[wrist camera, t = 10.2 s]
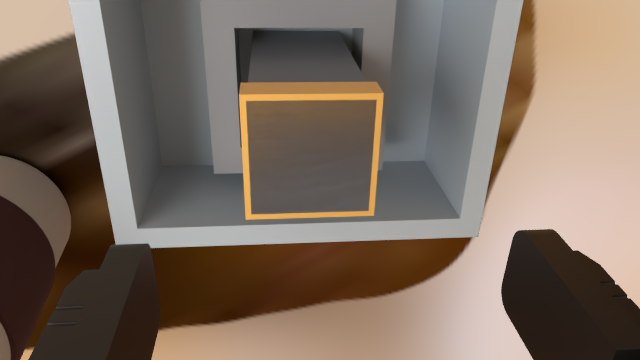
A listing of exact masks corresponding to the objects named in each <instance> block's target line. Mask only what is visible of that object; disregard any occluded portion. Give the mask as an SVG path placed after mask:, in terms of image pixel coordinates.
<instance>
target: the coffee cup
mask: <svg viewBox="0 0 640 360" xmlns="http://www.w3.org/2000/svg"><path fill="white" fill-rule="evenodd" d="M70 231H71V215H70V210H69V207H68V204H67V202H66V200H65V198H64V196H63V194H62V193H61V191H60V190H59V189H58V187H57V186H56V185H55V184H54V183H53V182H52V181H51V180H50V179H49V178H48V177H47V176H46V175H45V174H43V173H42V172H40V171H39V170H37V169H36V168H34V167H32V166H30V165H28V164H26V163H24V162H22V161H19V160H16V159H13V158H10V157H6V156H1V155H0V360H20V359H21V357H22V354H23V352H24V350H25V347H26V345H27V343H28V340H29V338H30V336H31V334H32V331H33V329H34V327H35V324H36V322H37V320H38V318H39V315H40V313H41V311H42V308H43V306H44V304H45V302H46V299H47V297H48V295H49V292H50V290H51V288H52V285H53V282H54V278H55V268H56V266H57V264H58V261H59V259H60V257H61V255H62V253H63V250H64V248H65V246H66V244H67V241H68V239H69V236H70Z"/></svg>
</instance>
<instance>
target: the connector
mask: <svg viewBox="0 0 640 360" xmlns="http://www.w3.org/2000/svg"><path fill="white" fill-rule="evenodd" d="M383 97H384V93H383V91H382V90H381V88H380V86H379V85H378V83H377V82H367V81H366V79H365V78H364V76H363V74H362V72H361V71H360V69H359V67H358V65H357V64H356V62H355V60H354V58H353V57H352V55H351V53H350V51H349V49H348V48H347V46H346V44H345V42H344V41H343V39H342V37H341V35H340V34H339V32H338V31H253V38H252V47H251V57H250V67H249V77H248V83H241V84H240V91H239V105H240V123H241V142H242V161H243V179H244V198H245V217H246V220H253V219H285V218H318V217H351V216H374V210H375V197H376V185H377V172H378V160H379V147H380V135H381V122H382V110H383Z"/></svg>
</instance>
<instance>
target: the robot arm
mask: <svg viewBox="0 0 640 360" xmlns="http://www.w3.org/2000/svg"><path fill="white" fill-rule="evenodd" d="M501 290H502V291H501V293H502V301H503V305H504V308H505V311H506V313H507V315H508V316H509V318H510V320H511V322H512V323H513V325H514V327H515V329H516V330H517V332H518V334H519V335H520V337H521V339H522V341H523V342H524V344H525V346H526V348H527V349H528V351H529V353H530V354H531V356H532V358H533V359H534V360H640V309H639V307H638V306H637V305H636V304H635V303H634V302H633V301H632V300H631V299H628V298H627V294H626V293H625V292H624V291H623V290H622V289H621V288H620V286H618V285H615V281H614V280H613V279H612V278H611V277H610V275H608V273H607V272H606V271H605V270H604V269H603V268H602V267H601V265H600V264H598V263H596V262H595V261H593V260H592V259H590V258H589V257H587V256H585V255H584V254H582V253H581V252H579V251H573V250H572V249H571V248H570V247H569V246H568V245H567V243H565V241H564V240H563V239H562V238H561V237H560V235H559V234H558V233H557V232H556V231H554V230H550V229H547V230H521V231H517V232H516V233H515V235H514V237H513V240H512V244H511V248H510V253H509V257H508V261H507V265H506V270H505V273H504V278H503V282H502V289H501ZM55 307H56V309H55V310H53V312H52V314H51V316H50V318H49V320H48V322H47V327H45V328H44V330H43V332H42V334H41V336H40V338H39V340H38V342H37V344H36V346H35V348H34V350H33V352H32V354H31V356H30V358H29V360H151V358H152V353H153V350H154V346H155V341H156V337H157V333H158V329H159V322H160V300H159V293H158V287H157V281H156V275H155V269H154V263H153V257H152V251H151V247H150V245H149V244H148V243H146V244H119V245H111V246H110V247H109V249H108V251H107V253H106V256H105V258H104V260H103V262H102V265H101V267H100V269H96V270H84V271H83V272H81V273H80V274H79V275H78V276H77V277H76V278H75V279H74V280H73V281H71V282H70V283H69V284H68V285H67V286H66V287H65V289H64V291H63V293H62V295H61V296H60V298H59V300H58V302H57V304H56V306H55Z"/></svg>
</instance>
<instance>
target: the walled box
mask: <svg viewBox="0 0 640 360" xmlns="http://www.w3.org/2000/svg"><path fill="white" fill-rule="evenodd" d="M523 1H524V0H69V4H70V10H71V15H72V20H73V25H74V30H75V36H76V41H77V46H78V51H79V56H80V62H81V67H82V72H83V77H84V82H85V88H86V93H87V98H88V103H89V108H90V113H91V119H92V124H93V129H94V134H95V139H96V145H97V150H98V155H99V160H100V165H101V171H102V176H103V181H104V186H105V191H106V196H107V202H108V207H109V212H110V217H111V222H112V228H113V233H114V238H115V243H116V245H119V244H146V243H148V244H149V245H150V247H151V248H167V247H196V246H225V245H254V244H283V243H312V242H341V241H369V240H398V239H427V238H456V237H478V235H479V230H480V225H481V219H482V214H483V209H484V204H485V199H486V193H487V188H488V183H489V178H490V172H491V167H492V162H493V157H494V152H495V146H496V141H497V136H498V131H499V126H500V120H501V115H502V110H503V105H504V100H505V94H506V89H507V84H508V79H509V73H510V68H511V63H512V58H513V53H514V47H515V42H516V37H517V32H518V27H519V21H520V16H521V11H522V6H523ZM253 31H338V32H339V34H340V35H341V37H342V39H343V41H344V42H345V44H346V46H347V48H348V49H349V51H350V53H351V55H352V57H353V58H354V60H355V62H356V64H357V65H358V67H359V69H360V71H361V72H362V74H363V76H364V78H365V79H366V81H367V82H377V83H378V85H379V86H380V88H381V90H382V91H383V93H384V97H383V110H382V122H381V135H380V147H379V160H378V172H377V185H376V197H375V210H374V216H351V217H318V218H285V219H253V220H246V217H245V198H244V179H243V161H242V142H241V123H240V105H239V91H240V84H241V83H248V77H249V67H250V57H251V47H252V38H253Z"/></svg>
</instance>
